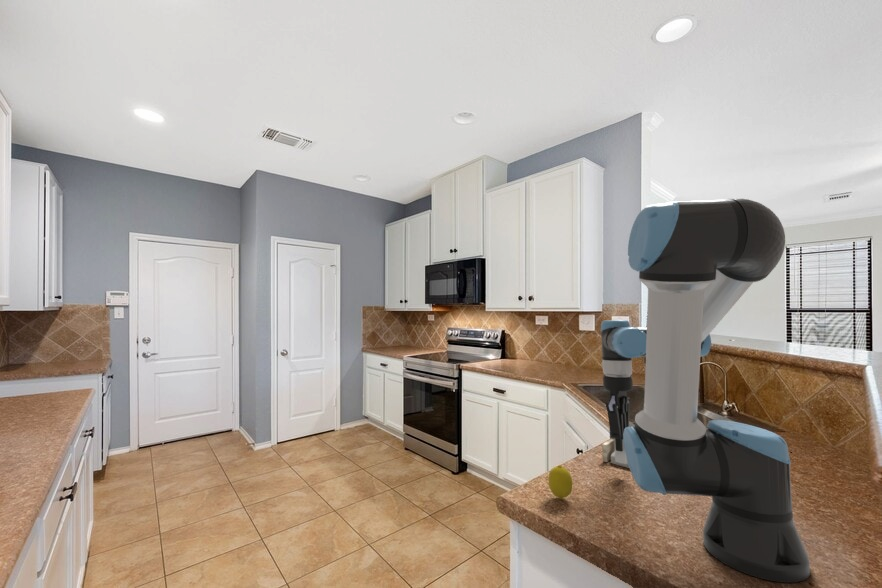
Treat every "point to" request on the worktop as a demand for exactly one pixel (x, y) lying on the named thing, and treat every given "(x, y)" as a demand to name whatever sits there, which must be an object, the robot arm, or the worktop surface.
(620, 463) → the grey stone block
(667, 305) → the robot arm
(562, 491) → the lemon
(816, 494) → the worktop surface
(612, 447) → the cradle
